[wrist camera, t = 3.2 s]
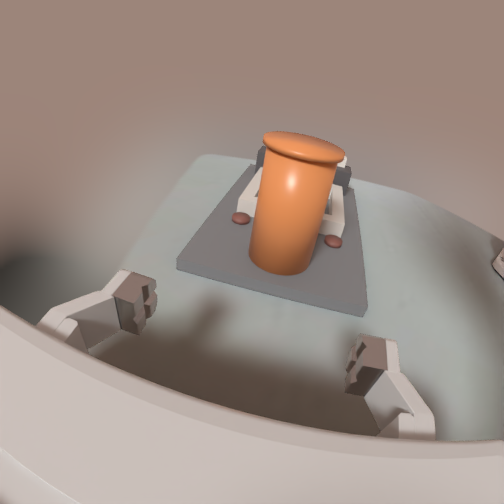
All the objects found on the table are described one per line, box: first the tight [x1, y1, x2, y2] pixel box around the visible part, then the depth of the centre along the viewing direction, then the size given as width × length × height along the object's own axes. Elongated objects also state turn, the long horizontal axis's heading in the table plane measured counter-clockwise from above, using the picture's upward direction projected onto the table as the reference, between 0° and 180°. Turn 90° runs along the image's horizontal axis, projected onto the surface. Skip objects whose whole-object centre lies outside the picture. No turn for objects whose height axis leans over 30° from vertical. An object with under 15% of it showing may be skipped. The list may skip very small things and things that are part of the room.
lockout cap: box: [248, 131, 345, 276], centre depth 22 cm, size 5×5×9 cm
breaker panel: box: [177, 146, 368, 317], centre depth 30 cm, size 23×14×5 cm, turn 167°
